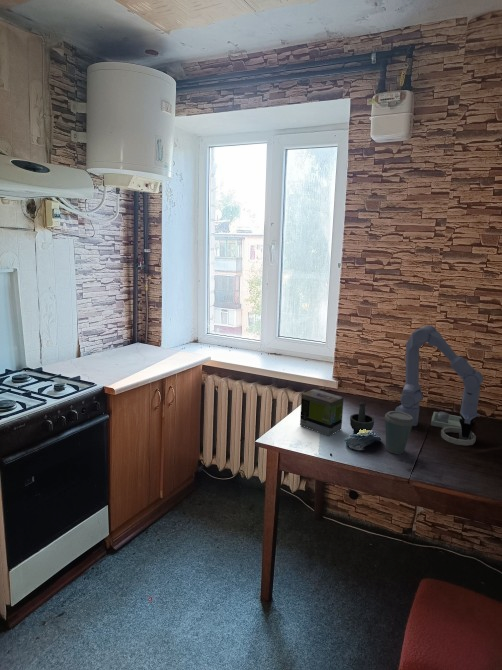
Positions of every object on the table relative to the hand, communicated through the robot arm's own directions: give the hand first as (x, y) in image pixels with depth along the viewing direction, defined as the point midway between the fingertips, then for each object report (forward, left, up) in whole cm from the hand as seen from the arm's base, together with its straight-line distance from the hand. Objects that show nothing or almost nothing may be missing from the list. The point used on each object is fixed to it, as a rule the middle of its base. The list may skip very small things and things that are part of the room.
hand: (465, 433), depth 178 cm
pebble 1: (+3, +16, -2) cm, 17 cm away
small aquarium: (-51, +27, -4) cm, 57 cm away
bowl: (-2, +2, -3) cm, 4 cm away
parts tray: (+5, +14, -3) cm, 15 cm away
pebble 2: (0, 0, -3) cm, 3 cm away
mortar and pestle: (-37, +18, -4) cm, 41 cm away
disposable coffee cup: (-32, +1, -4) cm, 32 cm away
